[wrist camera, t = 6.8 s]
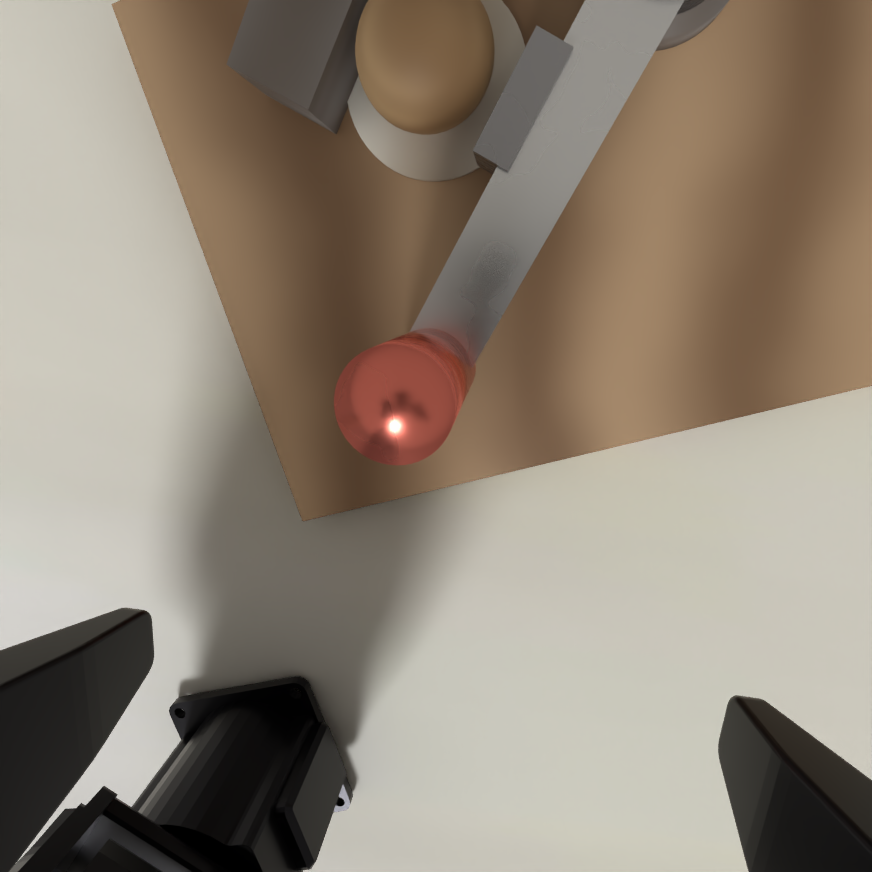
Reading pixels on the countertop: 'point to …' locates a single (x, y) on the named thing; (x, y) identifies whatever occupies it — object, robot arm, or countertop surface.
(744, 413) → the cracker base
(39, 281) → the countertop surface
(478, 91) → the walnut
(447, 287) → the lever
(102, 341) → the countertop surface
